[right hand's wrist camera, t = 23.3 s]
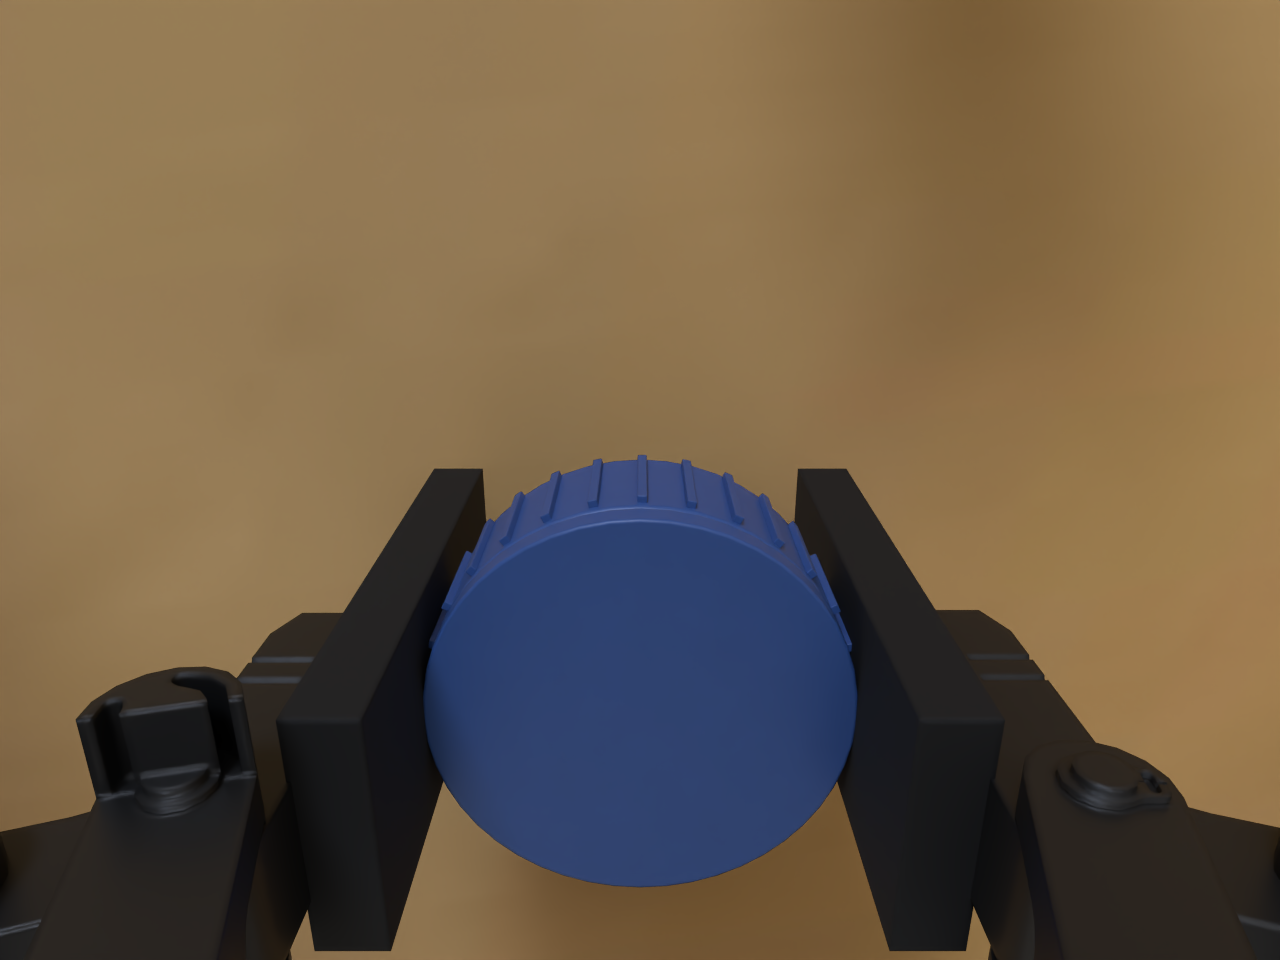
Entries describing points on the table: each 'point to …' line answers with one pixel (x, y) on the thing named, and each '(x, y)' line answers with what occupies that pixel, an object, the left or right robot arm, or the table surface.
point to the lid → (640, 676)
